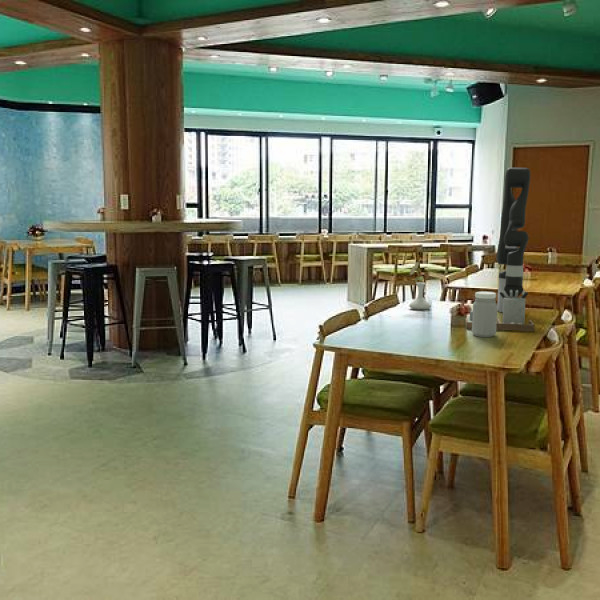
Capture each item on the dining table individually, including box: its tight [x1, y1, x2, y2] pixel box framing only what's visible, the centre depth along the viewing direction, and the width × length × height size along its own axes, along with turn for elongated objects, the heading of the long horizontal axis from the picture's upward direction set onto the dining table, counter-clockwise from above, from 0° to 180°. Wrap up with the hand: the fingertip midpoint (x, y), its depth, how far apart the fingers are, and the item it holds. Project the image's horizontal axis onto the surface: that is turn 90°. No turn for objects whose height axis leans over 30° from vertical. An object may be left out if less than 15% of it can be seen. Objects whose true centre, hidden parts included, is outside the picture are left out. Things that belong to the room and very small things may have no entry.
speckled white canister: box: [502, 296, 527, 324], centre depth 293 cm, size 10×10×12 cm
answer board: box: [465, 317, 535, 332], centre depth 287 cm, size 12×28×3 cm, turn 78°
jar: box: [471, 291, 498, 338], centre depth 271 cm, size 10×10×18 cm
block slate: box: [469, 309, 473, 321], centre depth 309 cm, size 4×4×4 cm
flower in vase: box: [408, 261, 432, 311], centre depth 336 cm, size 13×11×25 cm
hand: (512, 312), depth 299 cm, fingers closed
